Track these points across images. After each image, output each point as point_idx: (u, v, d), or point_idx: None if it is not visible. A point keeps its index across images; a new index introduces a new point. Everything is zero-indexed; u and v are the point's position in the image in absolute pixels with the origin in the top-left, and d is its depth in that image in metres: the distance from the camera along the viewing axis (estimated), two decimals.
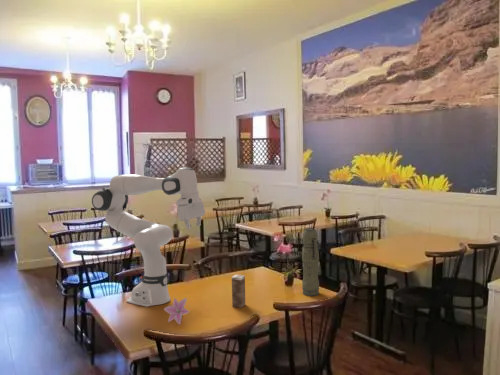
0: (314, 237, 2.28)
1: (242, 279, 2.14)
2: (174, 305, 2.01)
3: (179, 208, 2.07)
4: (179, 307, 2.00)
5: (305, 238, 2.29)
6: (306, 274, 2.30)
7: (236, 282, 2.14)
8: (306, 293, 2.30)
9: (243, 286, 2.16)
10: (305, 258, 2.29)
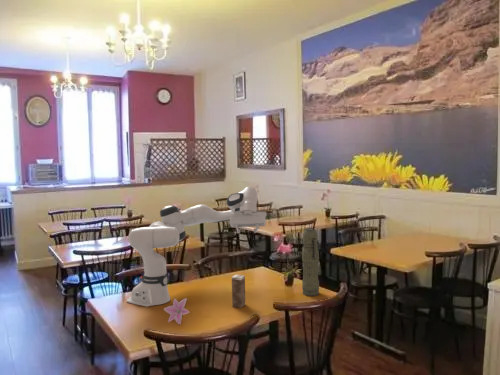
0: (314, 237, 2.28)
1: (242, 279, 2.14)
2: (174, 305, 2.01)
3: None
4: (179, 307, 2.00)
5: (305, 238, 2.29)
6: (306, 274, 2.30)
7: (236, 282, 2.14)
8: (306, 293, 2.30)
9: (243, 286, 2.16)
10: (305, 258, 2.29)
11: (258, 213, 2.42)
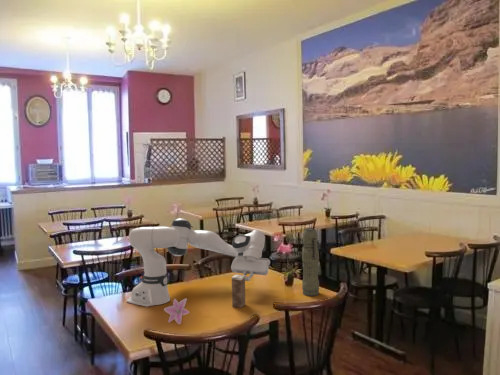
0: (314, 237, 2.28)
1: (242, 279, 2.14)
2: (174, 306, 2.00)
3: None
4: (179, 308, 2.00)
5: (305, 238, 2.29)
6: (306, 274, 2.30)
7: (236, 282, 2.14)
8: (306, 293, 2.30)
9: (243, 286, 2.16)
10: (305, 258, 2.29)
11: (261, 260, 2.29)
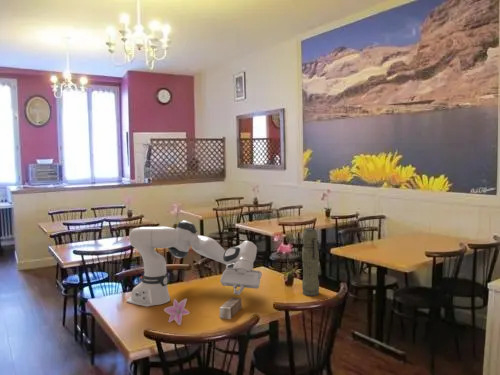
0: (314, 237, 2.28)
1: (230, 314, 2.01)
2: (174, 306, 2.00)
3: None
4: (179, 308, 1.99)
5: (305, 238, 2.29)
6: (306, 274, 2.30)
7: None
8: (306, 293, 2.30)
9: (233, 308, 2.04)
10: (305, 258, 2.29)
11: (252, 273, 2.17)
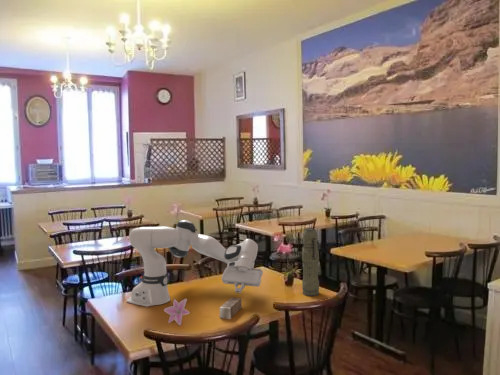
0: (314, 237, 2.28)
1: (230, 314, 2.01)
2: (174, 306, 2.00)
3: None
4: (179, 308, 1.99)
5: (305, 238, 2.29)
6: (306, 274, 2.30)
7: None
8: (306, 293, 2.30)
9: (233, 308, 2.04)
10: (305, 258, 2.29)
11: (253, 271, 2.18)
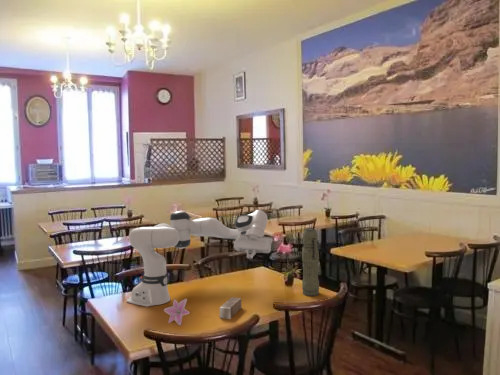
0: (314, 237, 2.28)
1: (230, 314, 2.01)
2: (174, 306, 2.00)
3: None
4: (179, 308, 1.99)
5: (305, 238, 2.29)
6: (306, 274, 2.30)
7: None
8: (306, 293, 2.30)
9: (233, 308, 2.04)
10: (305, 258, 2.29)
11: (264, 239, 2.32)
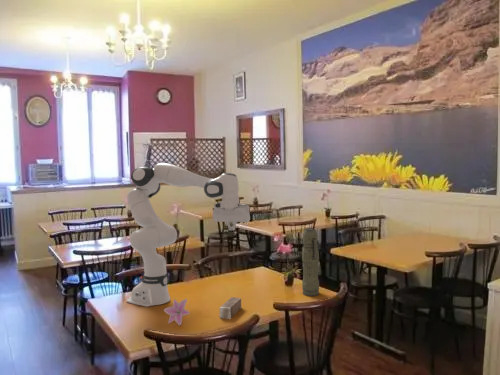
0: (314, 237, 2.28)
1: (230, 314, 2.01)
2: (174, 306, 2.00)
3: None
4: (179, 308, 1.99)
5: (305, 238, 2.29)
6: (306, 274, 2.30)
7: None
8: (306, 293, 2.30)
9: (233, 308, 2.04)
10: (305, 258, 2.29)
11: (240, 209, 2.23)
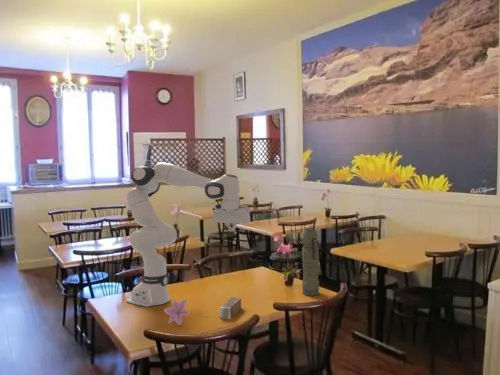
0: (314, 237, 2.28)
1: (230, 314, 2.01)
2: (174, 307, 1.99)
3: None
4: (179, 308, 1.99)
5: (305, 238, 2.29)
6: (306, 274, 2.30)
7: None
8: (306, 293, 2.30)
9: (233, 308, 2.04)
10: (305, 258, 2.29)
11: (240, 211, 2.24)
